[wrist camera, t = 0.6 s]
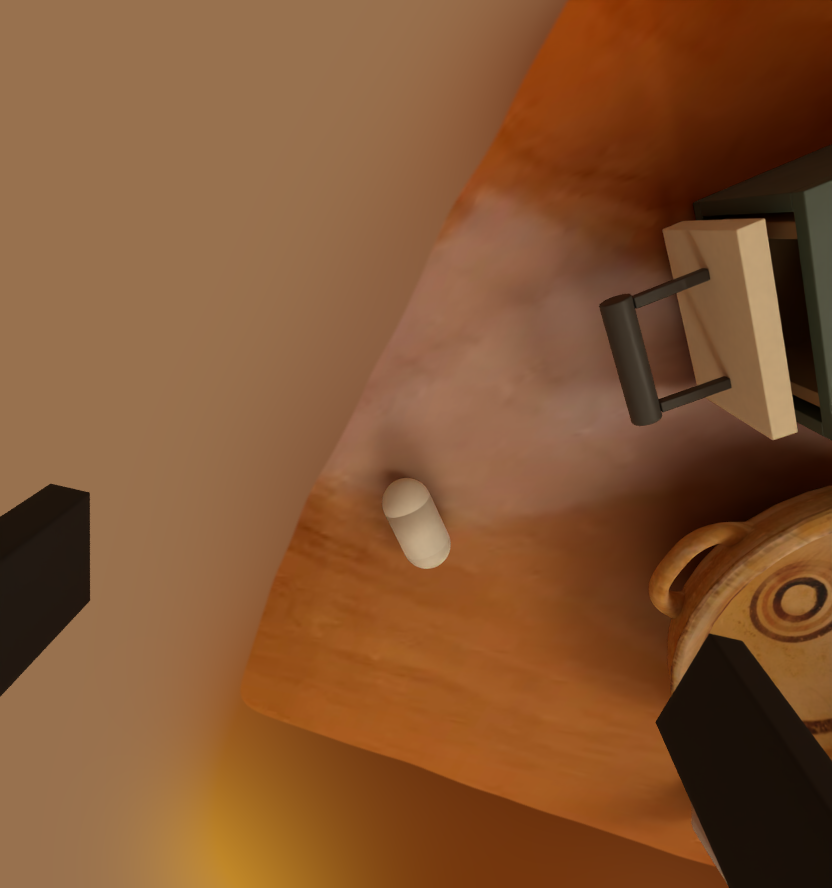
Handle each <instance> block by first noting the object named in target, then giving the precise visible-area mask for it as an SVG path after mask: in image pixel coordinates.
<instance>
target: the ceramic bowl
mask: <svg viewBox="0 0 832 888" xmlns="http://www.w3.org/2000/svg"><path fill="white" fill-rule="evenodd" d="M713 545H716V546H715V547H714V548H713V549H712V550H711V551H710V552H709V553H708V554H707V555H706V557H705V558H704V559H703V560H702V561H701V562H700V563H699V565H698V566H697V567H696V569H695V570H694V572H693V573H692V575H691V576H690V577H689V579H688V580H687V582H686V583H685V585H684V587H683V590H682V591H669V588H670V586H671V584H672V582H673V581H674V579H675V578H676V577H677V575H678V574H679V573H680V572H681V570H682V569H683V568H684V567H685V566H686V564H687V563H688V562H689V561H690V560H691V559H692V558H693V557H694V556H696V555H697V554H698V553H700V552H701V551H703V550H704V549H706V548H708V547H711V546H713ZM649 596H650V599H651V601H652V603H653V604H654V606H655V607H656V608H657V609H658V610H659V611H660V612H662V613H663V614H665V615H667V616H669V617H671V622H670V626H669V631H668V652H667V663H668V671H669V677H670V681H671V696H672V694H673V692H674V691H675V689H676V687H677V686H678V684H679V682H680V681H681V679H682V677H683V676H684V674H685V673H686V671H687V669H688V668H689V666H690V664H691V663H692V661H693V659H694V658H695V656H696V654H697V653H698V651H699V649H700V648H701V646H702V644H703V643H704V641H705V639H706V638H707V636H708V634H709V633H710V634H715V635H719V636H723V637H728V638H732V639H737V640H741V641H743V642H744V643H745V645H746V646H747V647H748V649H749V650H750V651H751V653H752V654H753V655H754V657H755V658H756V659H757V661H758V662H759V663H760V665H761V666H762V667H763V669H764V670H765V672H766V673H767V674H768V676H769V677H770V678H771V680H772V681H773V682H774V684H775V685H776V686H777V688H778V689H779V690H780V692H781V693H782V694H783V696H784V697H785V698H786V700H787V701H788V702H789V704H790V705H791V706H792V708H793V709H794V710H795V712H796V713H797V715H798V716H799V717H800V719H801V720H802V721H803V723H804V724H805V725H806V727H807V728H808V729H809V731H810V732H811V733H812V735H813V736H814V737H815V739H816V740H817V741H818V743H819V744H820V745H821V747H822V748H823V749H824V751H825V752H826V754H827V755H828V756H829V758H830V759H831V760H832V485H830V486H826V487H822V488H819V489H815V490H811V491H808V492H804V493H802V494H800V495H797V496H795V497H792V498H790V499H788V500H785V501H783V502H780V503H778V504H776V505H773V506H772V507H770V508H768V509H766V510H765V511H763V512H761V513H760V514H758V515H756V516H754V517H753V518H751V519H749V520H747V521H746V522H722V523H716V524H711V525H707V526H704V527H701V528H699V529H697V530H695V531H693V532H691V533H689V534H688V535H686V536H685V537H683V538H682V539H681V540H680V541H679V542H678V543H677V544H676V545H675V546H674V547H673V548H672V549H671V550H670V551H669V552H668V554H667V555H666V556H665V557H664V558H663V560H662V561H661V562H660V564H659V565H658V566H657V568H656V569H655V571H654V572H653V574H652V576H651V579H650V581H649Z"/></svg>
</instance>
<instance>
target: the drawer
mask: <svg viewBox="0 0 832 888" xmlns="http://www.w3.org/2000/svg"><path fill="white" fill-rule="evenodd" d="M662 231H663V235H664V240H665V244H666V249H667V253H668V258H669V262H670V267H671V271H672V276H673V280H671V281H668V282H666V283H663V284H661V285H658V286H656V287H653V288H651V289H648V290H646V291H643V292H641V293H638V294H635V295H633V296H632V295H631V294H622V295H618V296H615V297H612V298H609V299H607V300H605V301H603V302H602V303H601V304H600V305H599V307H600V311H601V315H602V318H603V322H604V325H605V329H606V332H607V336H608V340H609V343H610V347H611V350H612V354H613V358H614V361H615V365H616V368H617V372H618V375H619V379H620V383H621V386H622V390H623V393H624V397H625V401H626V404H627V408H628V411H629V415H630V418H631V422H632V423H633V424H634V425H637V426H645V425H650V424H653V423H655V422H657V421H659V420H660V419H661V417H662V412H665V411H668V410H671V409H674V408H676V407H679V406H682V405H685V404H688V403H691V402H694V401H696V400H699V399H702V398H706V399H708V400H710V401H711V402H713V403H714V404H716V405H718V406H719V407H721V408H722V409H724V410H725V411H727V412H729V413H730V414H732V415H733V416H735V417H737V418H738V419H740V420H741V421H743V422H745V423H746V424H748V425H749V426H751V427H753V428H754V429H756V430H757V431H759V432H760V433H762V434H764V435H765V436H767V437H768V438H770V439H772V440H775V439H779V438H782V437H785V436H788V435H791V434H794V433H797V432H798V430H797V423H796V417H795V410H794V404H793V397H792V394H793V395H795V396H797V397H799V398H801V399H803V400H805V401H808V402H810V403H812V404H814V405H816V406H818V407H820V403H819V396H818V388H817V381H816V373H815V366H814V359H813V351H812V344H811V336H810V329H809V321H808V314H807V307H806V299H805V292H804V284H803V277H802V269H801V262H800V254H799V247H798V240H797V232H796V225H795V217H794V212H777V213H756V214H736V215H732V216H729V217H727V218H725V219H722V220H697V221H681V222H679V223H677V224H674V225H672V226H669V227H667V228H665V229H663V230H662ZM675 293H676V294H677V298H678V302H679V307H680V311H681V316H682V320H683V325H684V329H685V334H686V338H687V343H688V347H689V352H690V356H691V361H692V365H693V370H694V374H695V379H696V383H697V386H695V387H692V388H689V389H686V390H683V391H681V392H678V393H675V394H672V395H669V396H667V397H664V398H661V399H658V397H657V393H656V389H655V385H654V381H653V377H652V373H651V369H650V365H649V361H648V357H647V353H646V349H645V346H644V342H643V338H642V334H641V330H640V326H639V322H638V318H637V314H636V310H635V308H640V307H642V306H645V305H647V304H650V303H652V302H655V301H658V300H660V299H663V298H665V297H668V296H670V295H673V294H675ZM661 411H662V412H661Z"/></svg>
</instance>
